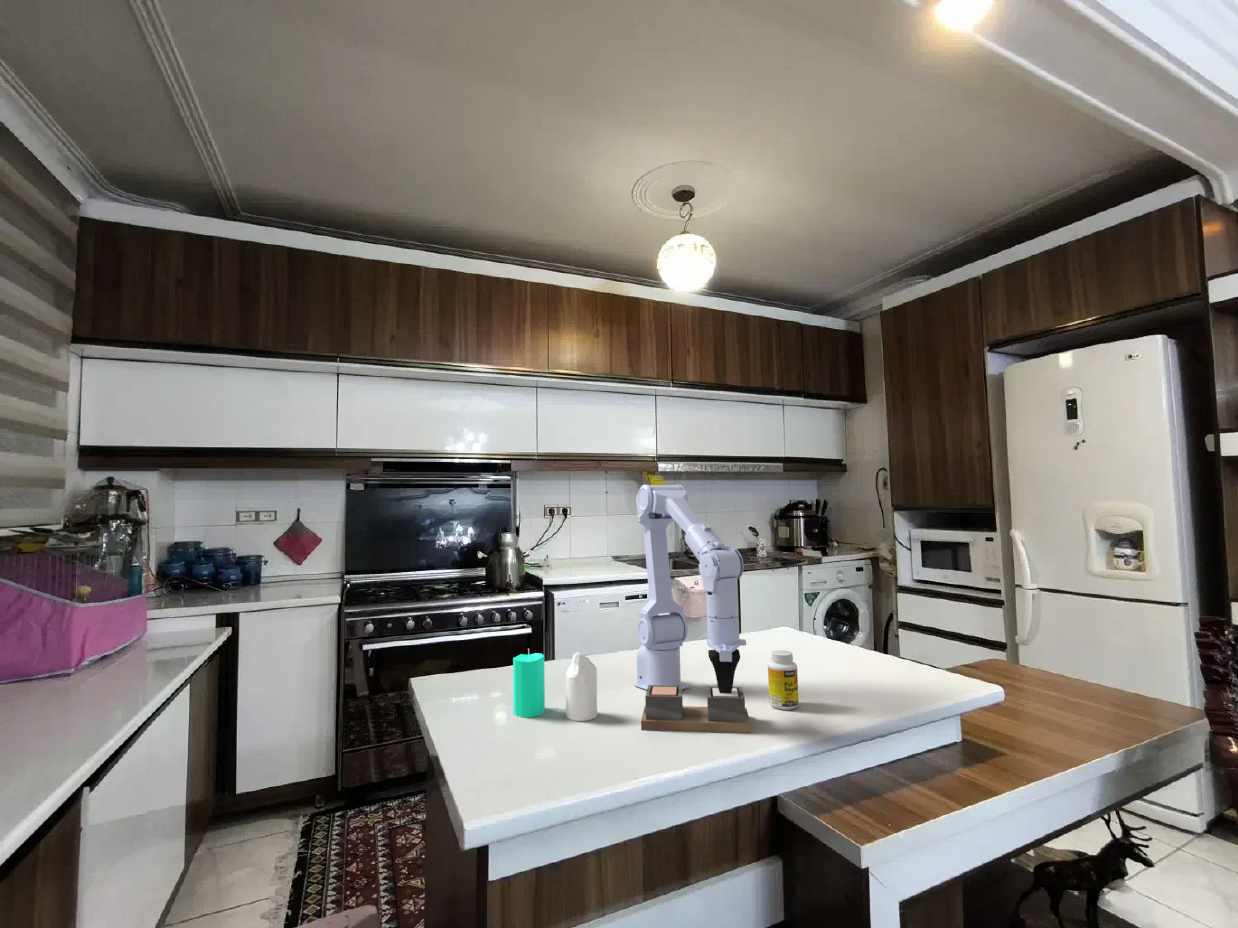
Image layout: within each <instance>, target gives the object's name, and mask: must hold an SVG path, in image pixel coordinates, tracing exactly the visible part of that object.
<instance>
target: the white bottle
mask: <svg viewBox="0 0 1238 928" xmlns="http://www.w3.org/2000/svg"><path fill="white" fill-rule="evenodd" d="M597 671H598V670H597V667H596V665H595V664H594V663H593V662H592V661H591V660H590V659H589V657H587V656H586V655H585V654H582V653H580V651H577V652H576V653H573V655H572V661H571V664H569V667H568V668H567V670H566V673H565V708H566V710H565V712H566V713H565V714H566V715H565V716H566V718H567V719H569V720H570V721H576V722H585V721H586V722H587V721H591V720H594V719H596V718H597V717H598V702H597V701H598V695H597V694H598V679H597V678H598V673H597Z"/></svg>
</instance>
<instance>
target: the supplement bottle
mask: <svg viewBox="0 0 1238 928" xmlns="http://www.w3.org/2000/svg"><path fill="white" fill-rule="evenodd" d="M793 660H794V655H793V652H791V651H790V650H783V649H781V650H780V649H779V650H777V649H776V650H772V651H771V660H769V662H768V663H767V678H768V681H767V682H768V703H769V705H770V706H771V707H772V708H775V709H777V710H784V711H790V710H791V711H792V710H795V709H797V708H798V706H799V683H798V682H799V681H798V678H799V677H798V676H799V675H798V664H797V663H796V662H795V661H793Z"/></svg>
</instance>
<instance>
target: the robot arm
mask: <svg viewBox="0 0 1238 928" xmlns="http://www.w3.org/2000/svg"><path fill="white" fill-rule="evenodd" d="M635 503H636V514H637V521H638V523H639V524H641V525H642V530H643V541H644V554H645V565H646V574H647V576H646V577H647V585H648V586H647V587H648V598H649V601H648V602H647V603H646V604H644V606H642V608H641V609H640V610H638V623H637V636H638V639H639V641H640V642H641V645H640V647H639V648H638V650H637V653H636V682H635V683H634V685H633V686H634V687H636V688H640V689H643V690H645V691H647V688H648V685H662V686H682V691H683V690H687V689H690V685H689V684H686V683H683V682H682V681H681V679H682V678H681V647H683V645H684V644H683V642H685V641H686V639H687V637H688V634H689V628H688V622H687V620H686V617H685V613H684V608H683V607H682V606H681V605H680V604H679V603H678V602H676V601H675V600H674V599H673V590H672V580H671V569H670V558H669V546H668V536H667V528H668V526H669V525H670V524H672V523H674V522H675V523H676V524H677V525H678V526H679V527H680V528H681V529H682V531H684V533H685V535H684V542H685V544H686V545H687V546H688V548H689V550H690V551H691V552H692V553H693V555H694V556H695V558H696V560H697V561H698V562H699V564H698V571H699V574H700V576H701V580H702V587H703V590H704V591H705V596H706V599H705V600H706V627H707V628H706V629H707V631H706V632H707V633H706V634H707V639H706V645H707V647H709V648H711V649H709V650H708V651H707V653H708V659H709V660H710V662H711V664H712V667H713V670H714V673H715V678H716V684H717V687H718V689H719V692H720V693H731V692H732V688H733V687H734V679H735V674H736V669H737V666H738V664H739V662H740V659H741V653H740V650H739V649H738V648H739V647H741V646H747V640H746V639H744V638H743V639H742V638H740V622H739V621H740V619H739V593H738V591H739V590H738V589H739V588H738V580H739V579H740V578H741V577H742V576H743V573H744V565H745V563H744V560H743V557H742V555H741V553H740V551H739V550H738V549H737V548H735V547H730V546H729V545H725V544H724V542H723V541H722V540H721V539H720V537H719V536H718V535H717V533H716V532H715V531H714V530H713V528H712V526H711V525H710V524H708V523H706V522H700V521H699V519H698V517H697V516H696V514H695V512H694V511H693V509H692V508H691V506H690V504H689V495H688V492H687V491H686V488H685V487H684V486H683V485H681V484H670V485H669V484H658V485H657V484H656V485H655V484H643V485H641V486H640V488H639V490H638V492H637V494H636V499H635ZM659 614H661V615H659Z"/></svg>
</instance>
